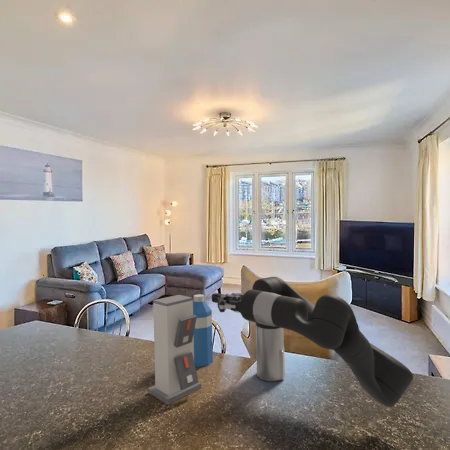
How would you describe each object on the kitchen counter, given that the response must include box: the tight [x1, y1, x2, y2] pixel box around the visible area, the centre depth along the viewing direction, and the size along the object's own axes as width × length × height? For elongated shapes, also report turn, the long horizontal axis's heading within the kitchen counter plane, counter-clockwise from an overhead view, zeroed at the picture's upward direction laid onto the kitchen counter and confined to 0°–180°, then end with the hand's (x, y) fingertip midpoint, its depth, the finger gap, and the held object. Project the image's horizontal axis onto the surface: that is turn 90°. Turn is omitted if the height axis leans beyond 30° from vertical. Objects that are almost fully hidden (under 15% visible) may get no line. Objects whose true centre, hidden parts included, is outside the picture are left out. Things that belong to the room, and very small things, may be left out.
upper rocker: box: [174, 315, 197, 348], centre depth 100 cm, size 2×6×9 cm, turn 136°
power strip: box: [148, 294, 202, 405], centre depth 104 cm, size 10×13×29 cm
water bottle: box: [193, 293, 214, 368], centre depth 125 cm, size 9×9×25 cm
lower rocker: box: [174, 352, 199, 390], centre depth 100 cm, size 1×6×9 cm, turn 136°
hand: (213, 297), depth 91 cm, fingers closed
